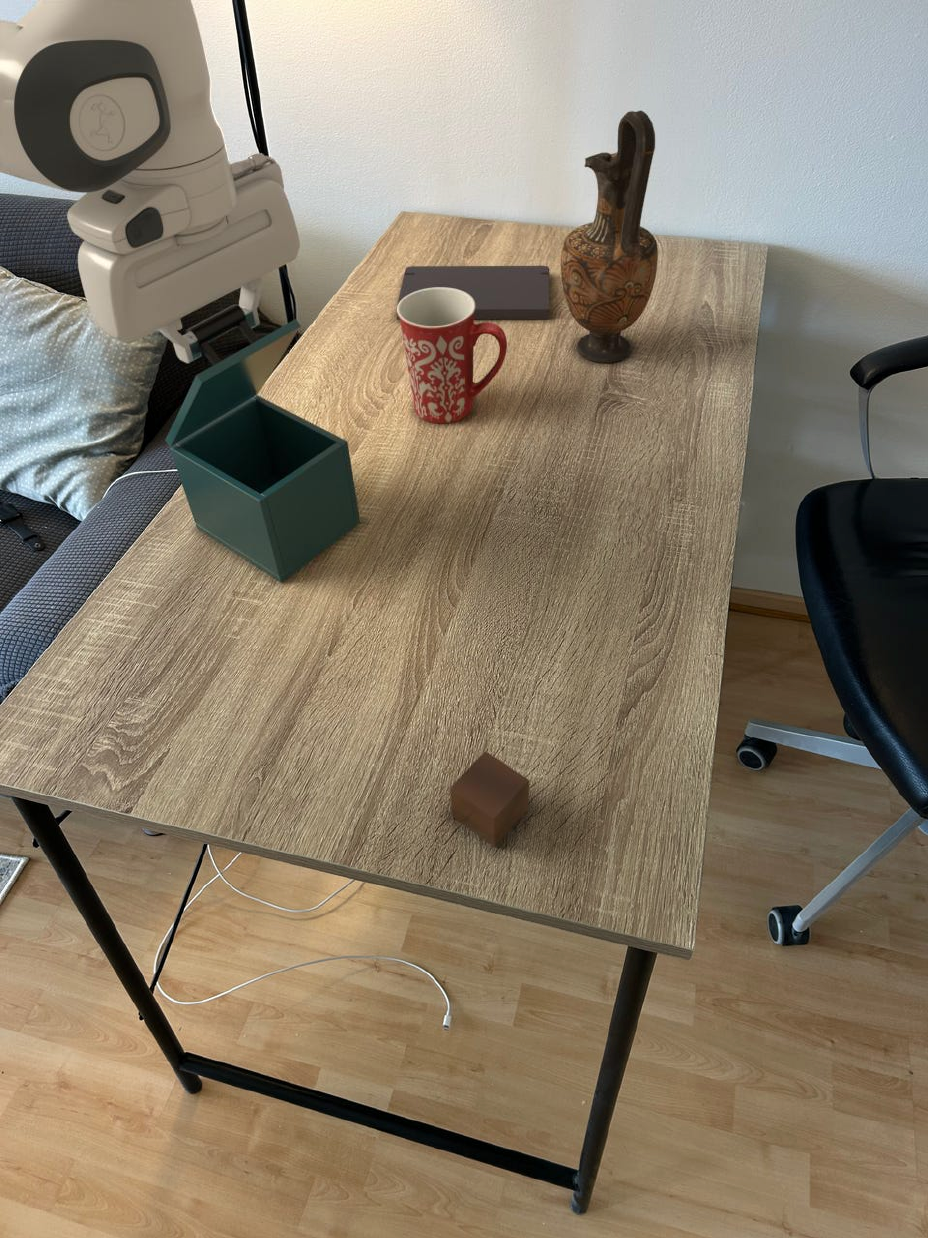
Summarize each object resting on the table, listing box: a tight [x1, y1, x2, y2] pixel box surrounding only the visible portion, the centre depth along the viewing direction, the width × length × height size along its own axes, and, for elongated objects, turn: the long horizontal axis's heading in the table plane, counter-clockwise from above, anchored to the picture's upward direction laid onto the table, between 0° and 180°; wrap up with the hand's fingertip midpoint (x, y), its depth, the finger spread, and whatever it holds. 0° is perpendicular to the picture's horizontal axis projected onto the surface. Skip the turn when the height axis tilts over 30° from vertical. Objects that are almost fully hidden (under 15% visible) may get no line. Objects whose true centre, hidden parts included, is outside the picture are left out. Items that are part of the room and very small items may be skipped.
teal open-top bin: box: [169, 394, 361, 583], centre depth 93 cm, size 14×12×11 cm
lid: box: [165, 304, 302, 448], centre depth 85 cm, size 14×12×5 cm
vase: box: [560, 109, 659, 364], centre depth 107 cm, size 12×12×30 cm
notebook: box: [395, 265, 551, 320], centre depth 129 cm, size 13×2×21 cm
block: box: [449, 750, 530, 848], centre depth 71 cm, size 4×4×4 cm
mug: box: [396, 287, 508, 424], centre depth 106 cm, size 13×9×14 cm
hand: (219, 342), depth 82 cm, fingers closed on lid, 5 cm apart
